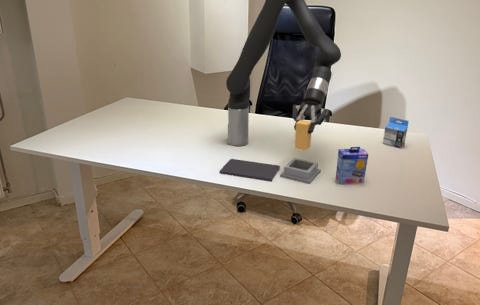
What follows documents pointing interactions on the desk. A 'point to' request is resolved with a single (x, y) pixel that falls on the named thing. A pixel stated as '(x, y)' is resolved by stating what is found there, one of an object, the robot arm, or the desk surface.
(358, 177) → the ink cartridge box
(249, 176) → the notebook
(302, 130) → the orange cap block
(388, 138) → the blue grey product box
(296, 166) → the square socket
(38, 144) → the desk surface
